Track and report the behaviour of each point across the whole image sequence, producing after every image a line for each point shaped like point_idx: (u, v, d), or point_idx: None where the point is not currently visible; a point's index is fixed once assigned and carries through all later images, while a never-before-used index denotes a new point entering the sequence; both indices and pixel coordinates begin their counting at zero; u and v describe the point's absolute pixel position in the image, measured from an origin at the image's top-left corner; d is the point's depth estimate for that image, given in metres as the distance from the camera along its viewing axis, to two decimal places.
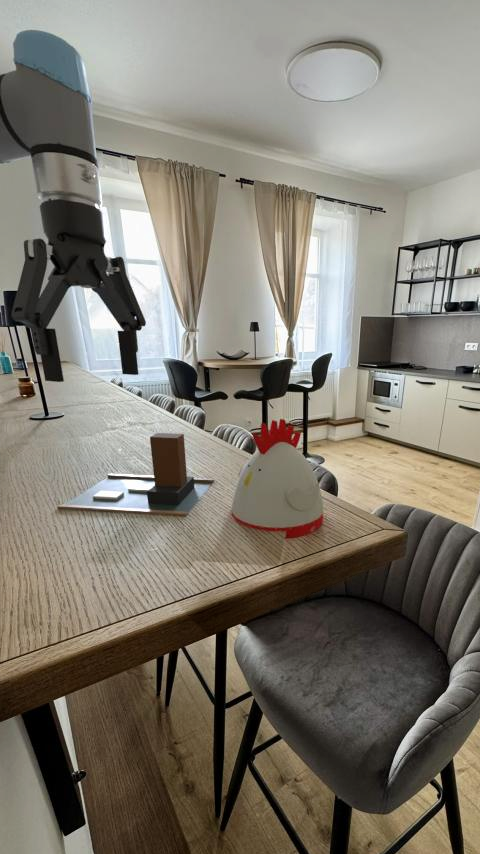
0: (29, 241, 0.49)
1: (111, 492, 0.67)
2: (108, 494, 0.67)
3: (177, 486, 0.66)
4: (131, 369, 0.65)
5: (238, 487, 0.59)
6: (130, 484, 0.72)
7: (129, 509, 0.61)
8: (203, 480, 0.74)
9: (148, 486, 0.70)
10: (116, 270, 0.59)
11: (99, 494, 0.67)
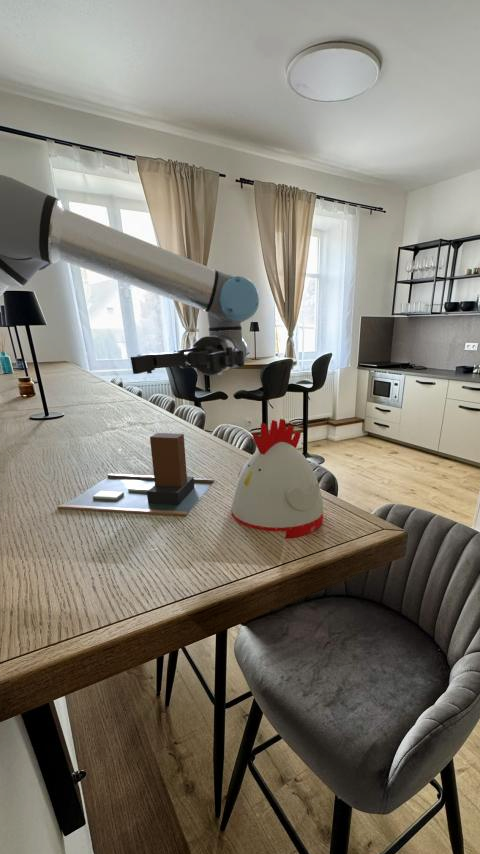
0: None
1: (111, 492, 0.67)
2: (108, 494, 0.67)
3: (177, 486, 0.66)
4: (138, 369, 0.70)
5: (238, 487, 0.59)
6: (130, 484, 0.72)
7: (129, 509, 0.61)
8: (203, 480, 0.74)
9: (148, 486, 0.70)
10: None
11: (99, 494, 0.67)
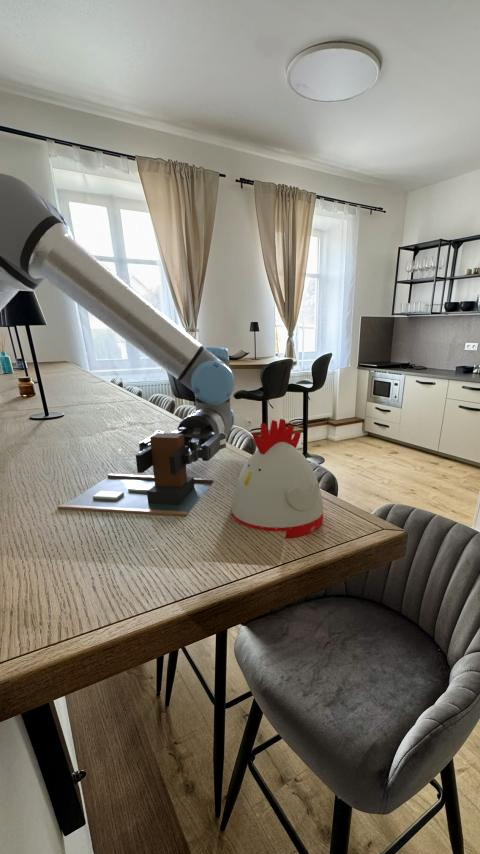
0: (225, 439, 0.75)
1: (111, 492, 0.67)
2: (108, 494, 0.67)
3: (177, 486, 0.66)
4: (144, 467, 0.62)
5: (238, 487, 0.59)
6: (130, 484, 0.72)
7: (129, 509, 0.61)
8: (203, 480, 0.74)
9: (148, 486, 0.70)
10: None
11: (99, 494, 0.67)
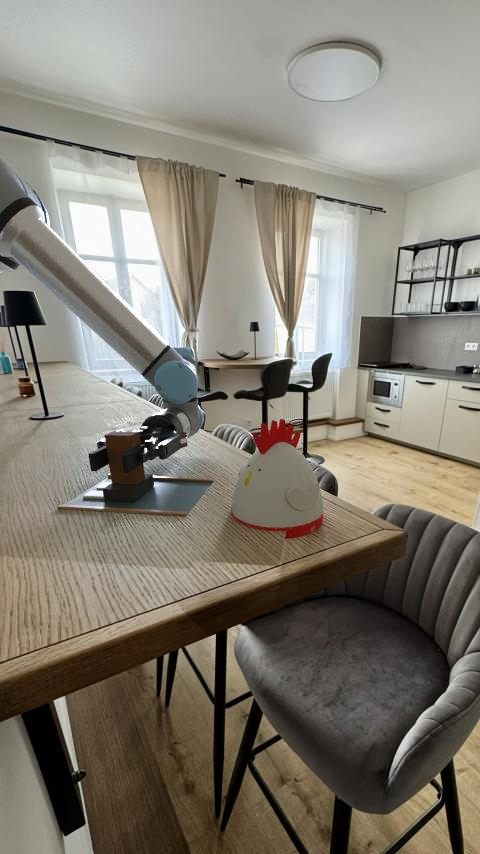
0: (186, 438, 0.76)
1: (101, 492, 0.68)
2: (98, 493, 0.67)
3: (133, 483, 0.66)
4: (97, 466, 0.62)
5: (238, 487, 0.59)
6: None
7: (129, 509, 0.61)
8: (203, 480, 0.74)
9: None
10: None
11: (89, 493, 0.67)
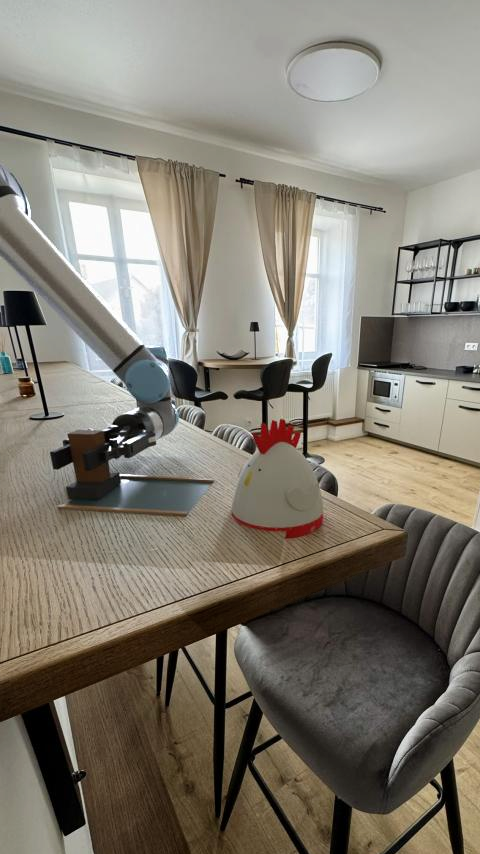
0: (155, 437, 0.76)
1: None
2: None
3: (98, 482, 0.67)
4: (60, 464, 0.63)
5: (238, 487, 0.59)
6: (130, 484, 0.72)
7: (129, 509, 0.61)
8: (203, 480, 0.74)
9: None
10: None
11: None
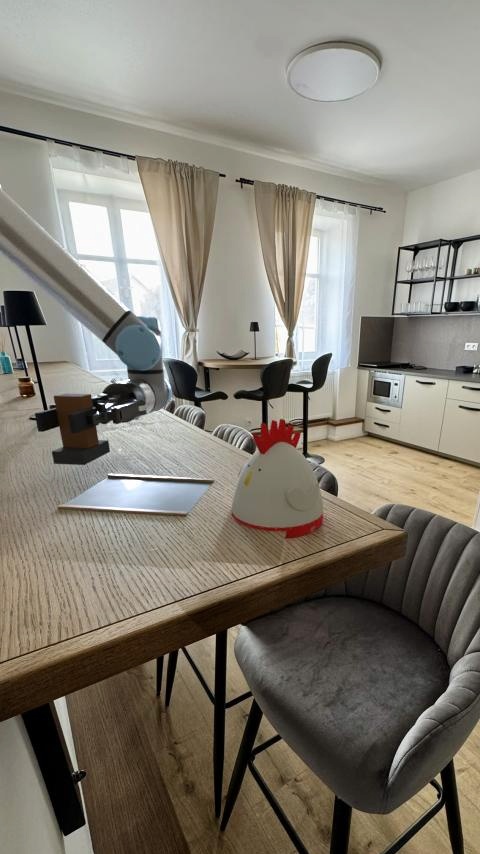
0: (145, 406, 0.74)
1: None
2: None
3: (85, 447, 0.65)
4: (45, 426, 0.61)
5: (238, 487, 0.59)
6: (130, 484, 0.72)
7: (129, 509, 0.61)
8: (203, 480, 0.74)
9: None
10: None
11: None
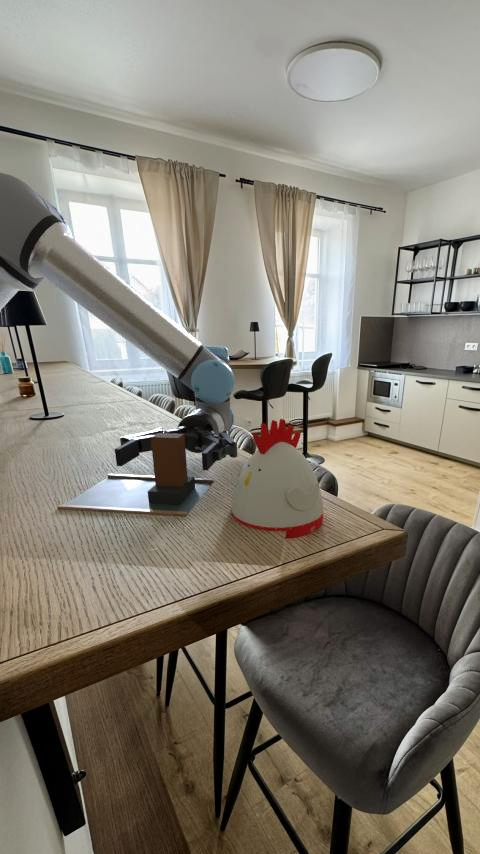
0: None
1: None
2: None
3: (178, 486, 0.66)
4: (123, 461, 0.64)
5: (238, 487, 0.59)
6: (130, 484, 0.72)
7: (129, 509, 0.61)
8: (203, 480, 0.74)
9: None
10: None
11: None
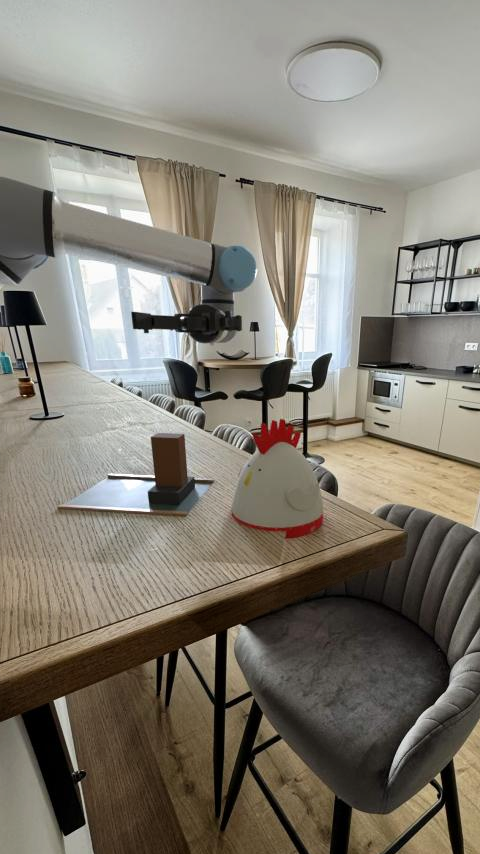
0: None
1: None
2: None
3: (178, 486, 0.66)
4: (138, 325, 0.70)
5: (238, 487, 0.59)
6: (130, 484, 0.72)
7: (129, 509, 0.61)
8: (203, 480, 0.74)
9: None
10: None
11: None
